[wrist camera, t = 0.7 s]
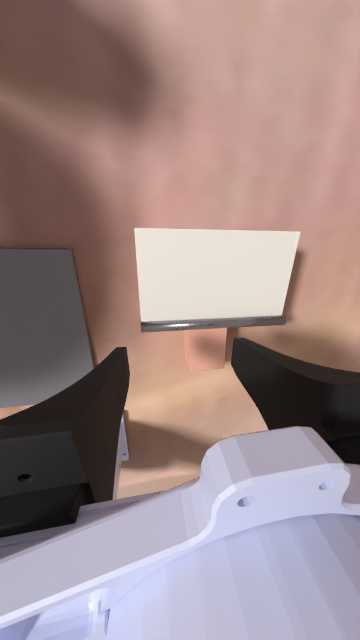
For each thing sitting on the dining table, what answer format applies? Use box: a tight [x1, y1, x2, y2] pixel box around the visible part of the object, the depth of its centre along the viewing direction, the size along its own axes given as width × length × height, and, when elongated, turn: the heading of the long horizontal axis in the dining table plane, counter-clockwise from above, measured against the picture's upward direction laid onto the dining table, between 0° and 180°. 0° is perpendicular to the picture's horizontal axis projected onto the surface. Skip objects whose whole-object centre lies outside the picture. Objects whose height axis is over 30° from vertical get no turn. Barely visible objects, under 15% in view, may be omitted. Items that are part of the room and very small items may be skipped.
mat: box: [0, 249, 95, 408], centre depth 19 cm, size 17×11×1 cm, turn 0°
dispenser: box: [134, 228, 300, 332], centre depth 17 cm, size 8×13×5 cm, turn 89°
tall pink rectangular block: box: [184, 328, 227, 372], centre depth 21 cm, size 8×4×3 cm, turn 2°
